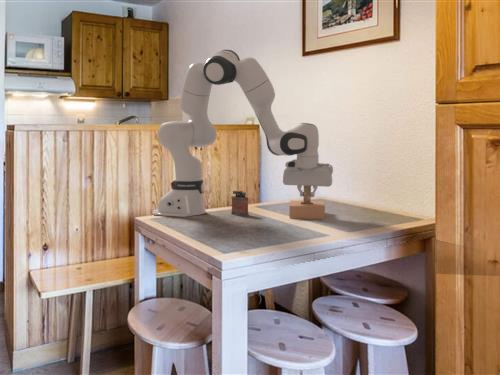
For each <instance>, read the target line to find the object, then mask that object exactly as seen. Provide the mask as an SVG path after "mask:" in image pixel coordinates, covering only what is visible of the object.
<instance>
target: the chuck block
mask: <svg viewBox="0 0 500 375" xmlns="http://www.w3.org/2000/svg"><path fill="white" fill-rule="evenodd" d="M325 213H326V206H325V202H324V200H311V204H303V200H290V201H289V214H288V215H289V216H288V217H289V219H310V220H311V219H312V220H315V219H316V220H325V219H326V217H325V216H326V214H325Z"/></svg>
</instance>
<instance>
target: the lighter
mask: <svg viewBox="0 0 500 375" xmlns="http://www.w3.org/2000/svg"><path fill="white" fill-rule="evenodd" d="M246 193H247V192H245V191H243V190H233V191H232V196H230V199H231V215H234V216H242V217H243V216H244V217H246V216H249V196H246V195H247V194H246Z"/></svg>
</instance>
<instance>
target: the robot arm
mask: <svg viewBox="0 0 500 375" xmlns="http://www.w3.org/2000/svg"><path fill="white" fill-rule="evenodd" d="M234 82H236V83H237V84H238V85H239V87H240V88H241V90H242V92H243V94H244V95H245V97H246V99H247V101H248V103H249V105H250V106H251V108H252V109H253V111H254V114H255V116H256V119H257V120H258V122H259V124H260V126H261V128H262V130H263V133H264V135H265V139H266V146H267V149H268V151H269V152H270V153H271V154H273V155H275V156H288V157H289V156H294V155H295V156H296V158H295V159H292V160H290V161H287V162H285V165H284V166H285V169H284V171H283V176H282V183H283V184H284V186H297V187H296V189H297V190H298V191H299V192H298V193H299V197H304V191H303V190H302V188H303V187H304V186H311V187H312V189H313V190H312V191H311V193H310V197H311V198H314V197H315V195H316V192H317V190H318V187H331V186H332V185H333V176H332V175H333V172H334V167H333V165H331V164H330V163H323V162H321V163H320V162H319V151H318V149H319V144H320V139H319V138H320V136H319V130H318V127H317V126H316V124H313V123H307V122H300V123H299V124H297V125H296V126H295V127H293V128H291V129H289V130H287V131H284V130H282V129H281V128H280V127H279V125H278V123H277V121H276V118H275V117H274V114H273V112H272V105H273V103H274V100H275V98H276V93H275V92H276V91H275V89H274V86H273V84H272V81H271V79H270V78H269V76H268V74H267V73H266V71H265V70H264V68H263V67H262V65H261V64H260V63H259V62H258V60H256V59H255V58H254V57H245V58H242V59H240V57H239V55H238V54H237V53H236V52H235V51H234V50H232V49H223V50H220V51H218V52H217V51H216V53H214V54H213V55H212V56H210V57H209V58H207V59H206V61H205V62H204V63H203V62H199V61H198V62H194V63H192V64H191V65H189V67H188V69H187V71H186V74H185V77H184V80H183V84H182V90H181V96H180V101H179V107H180V109H181V110H182V112H183V113H185V114H186V115H188V116H189V118H188V120H186V121H185V120H182V121H181V120H180V121H179V120H174V121H173V120H171V121H166V122H162V123H161V124H160V126H159V127H158V130H157V139H158V141H159V143H160V144H161V146H163V147H164V148H166V149H167V151H168V152H169V153H170V155H171V157H172V159H173V163H174V171H175V172H174V173H175V179H174V180H172V181H171V183H170V188H171V189H170V190H169V191H168V192H166V193H164V195H163V196H161V198H159V200H158V204H157V208H156V209H154V210H153V211H152V215H153V216H163V217H164V216H165V217H180V218H182V217H183V218H186V217H191V216H192V217H193V216H200V215H204V214H206V213H207V209H206V207H205V202H204V195H203V193H204V181H203V178H202V177H203V176H202V175H203V172H202V167H203V166H202V161H201V160H200V159H199V158H198V157H196V156H194V155H192V152H191V151H190V148H205V147H208V146H212V145H213V144H214V143H215V141H216V140H217V136H218V134H217V129H216V128H215V125H214V124H213V123H212V122H211V121H210V119H209V116H208V106H209V101H210V96H211V91H212V86H213V85H217V86H220V85H225V84H230V83H234Z"/></svg>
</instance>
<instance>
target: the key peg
mask: <svg viewBox="0 0 500 375" xmlns="http://www.w3.org/2000/svg"><path fill="white" fill-rule="evenodd" d="M303 192H304V196H303V199H302V201H303V204H311V201H312V197H310V193H311V192H312V186H303Z"/></svg>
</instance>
